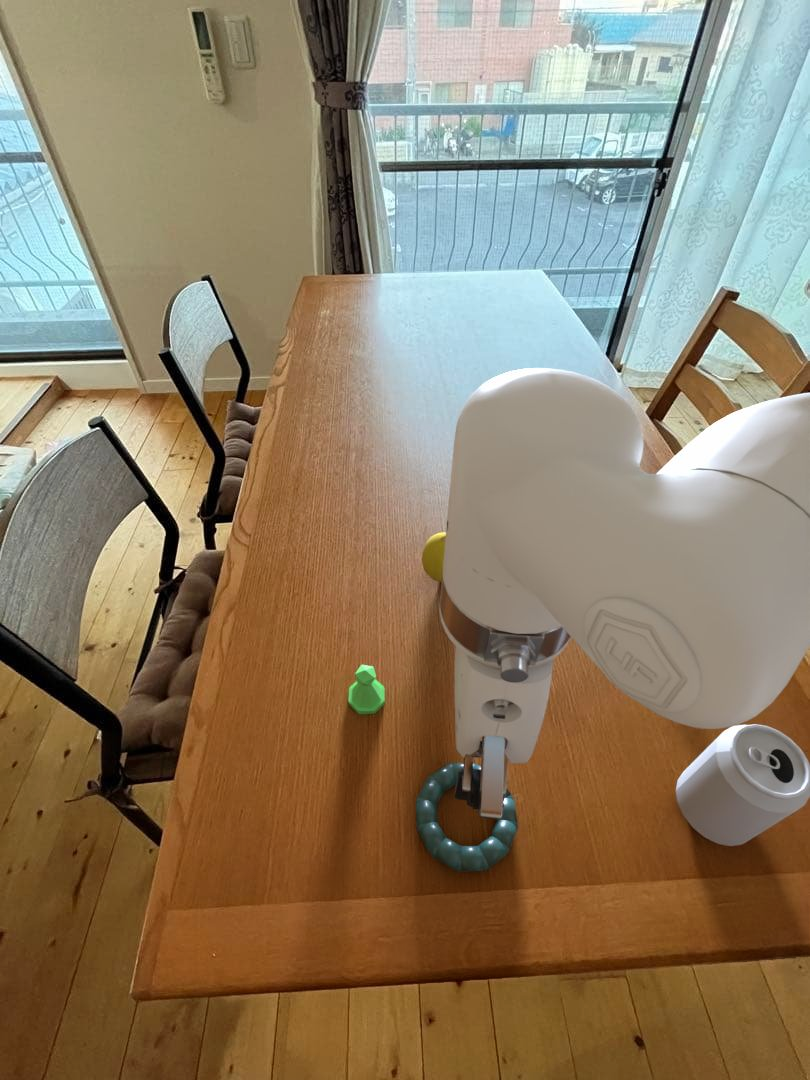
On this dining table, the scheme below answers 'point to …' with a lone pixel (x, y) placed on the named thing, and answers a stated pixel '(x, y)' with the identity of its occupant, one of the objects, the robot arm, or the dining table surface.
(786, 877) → the dining table surface
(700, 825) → the can
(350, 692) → the game piece
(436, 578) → the lemon
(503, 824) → the ring
